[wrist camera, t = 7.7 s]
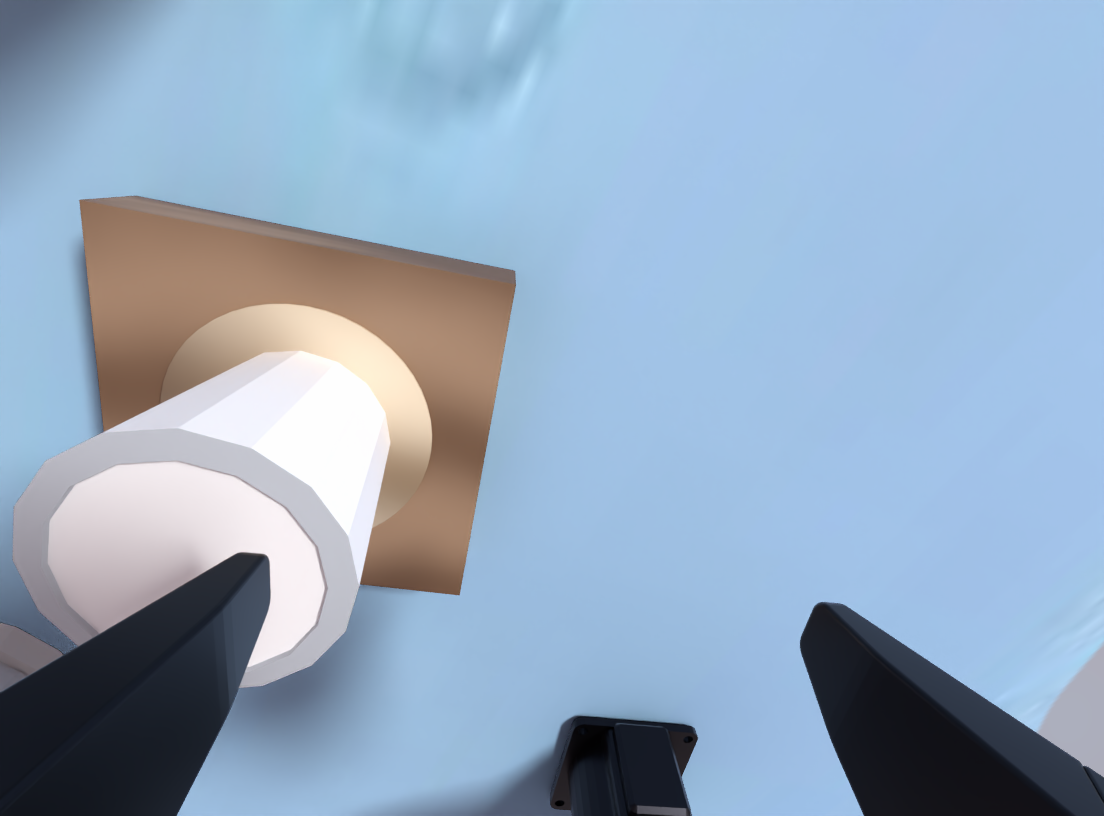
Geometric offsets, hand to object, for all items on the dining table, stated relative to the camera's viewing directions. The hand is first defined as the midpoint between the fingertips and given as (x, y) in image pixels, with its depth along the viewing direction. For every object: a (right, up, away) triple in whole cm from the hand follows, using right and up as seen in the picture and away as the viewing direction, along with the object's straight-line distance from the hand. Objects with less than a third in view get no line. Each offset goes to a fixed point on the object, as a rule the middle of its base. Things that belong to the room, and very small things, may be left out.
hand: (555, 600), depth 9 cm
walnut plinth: (-8, +3, +11) cm, 15 cm away
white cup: (-8, +2, +9) cm, 13 cm away
